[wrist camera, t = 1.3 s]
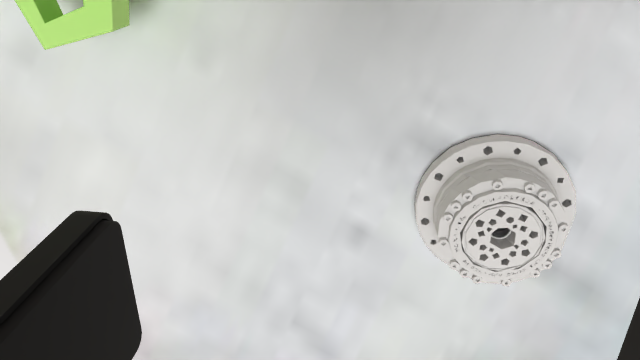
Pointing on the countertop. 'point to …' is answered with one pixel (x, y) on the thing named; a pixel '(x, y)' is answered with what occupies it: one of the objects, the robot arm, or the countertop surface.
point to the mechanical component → (496, 208)
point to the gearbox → (73, 20)
